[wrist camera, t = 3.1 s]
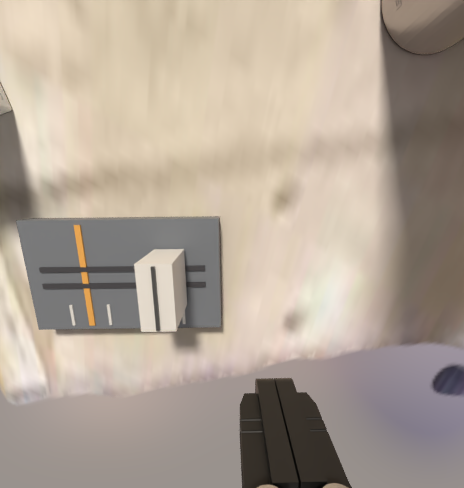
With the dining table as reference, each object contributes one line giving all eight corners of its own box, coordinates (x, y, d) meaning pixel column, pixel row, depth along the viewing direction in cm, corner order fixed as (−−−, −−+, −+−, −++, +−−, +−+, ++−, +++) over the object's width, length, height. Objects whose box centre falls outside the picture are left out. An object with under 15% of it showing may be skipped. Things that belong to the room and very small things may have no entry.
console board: (219, 216, 25) (218, 218, 23) (221, 317, 27) (220, 328, 25) (32, 218, 25) (14, 220, 23) (52, 319, 27) (37, 330, 25)
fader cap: (184, 248, 23) (171, 264, 18) (187, 303, 24) (175, 332, 19) (154, 249, 23) (132, 264, 18) (158, 304, 24) (140, 333, 19)
